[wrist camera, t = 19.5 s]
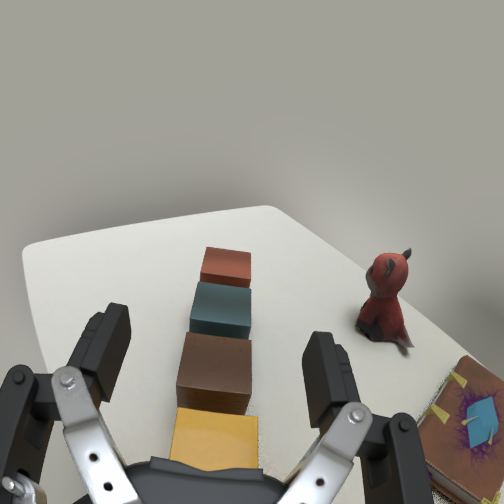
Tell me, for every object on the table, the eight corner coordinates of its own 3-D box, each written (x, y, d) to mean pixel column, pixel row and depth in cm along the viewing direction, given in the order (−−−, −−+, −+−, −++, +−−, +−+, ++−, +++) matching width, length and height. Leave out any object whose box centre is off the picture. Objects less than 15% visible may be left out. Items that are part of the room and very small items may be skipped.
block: (237, 507, 17) (258, 488, 12) (175, 500, 16) (166, 477, 12) (239, 457, 21) (258, 416, 16) (182, 450, 20) (178, 406, 16)
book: (360, 486, 19) (384, 468, 17) (451, 367, 34) (468, 343, 31) (459, 557, 8) (493, 545, 6) (519, 418, 23) (539, 396, 20)
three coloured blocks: (235, 441, 22) (251, 394, 18) (179, 434, 22) (175, 385, 17) (239, 311, 38) (251, 252, 33) (201, 306, 37) (206, 246, 33)
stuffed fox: (402, 367, 32) (449, 296, 26) (336, 324, 38) (368, 249, 32) (417, 339, 37) (456, 273, 31) (359, 302, 43) (388, 234, 37)
